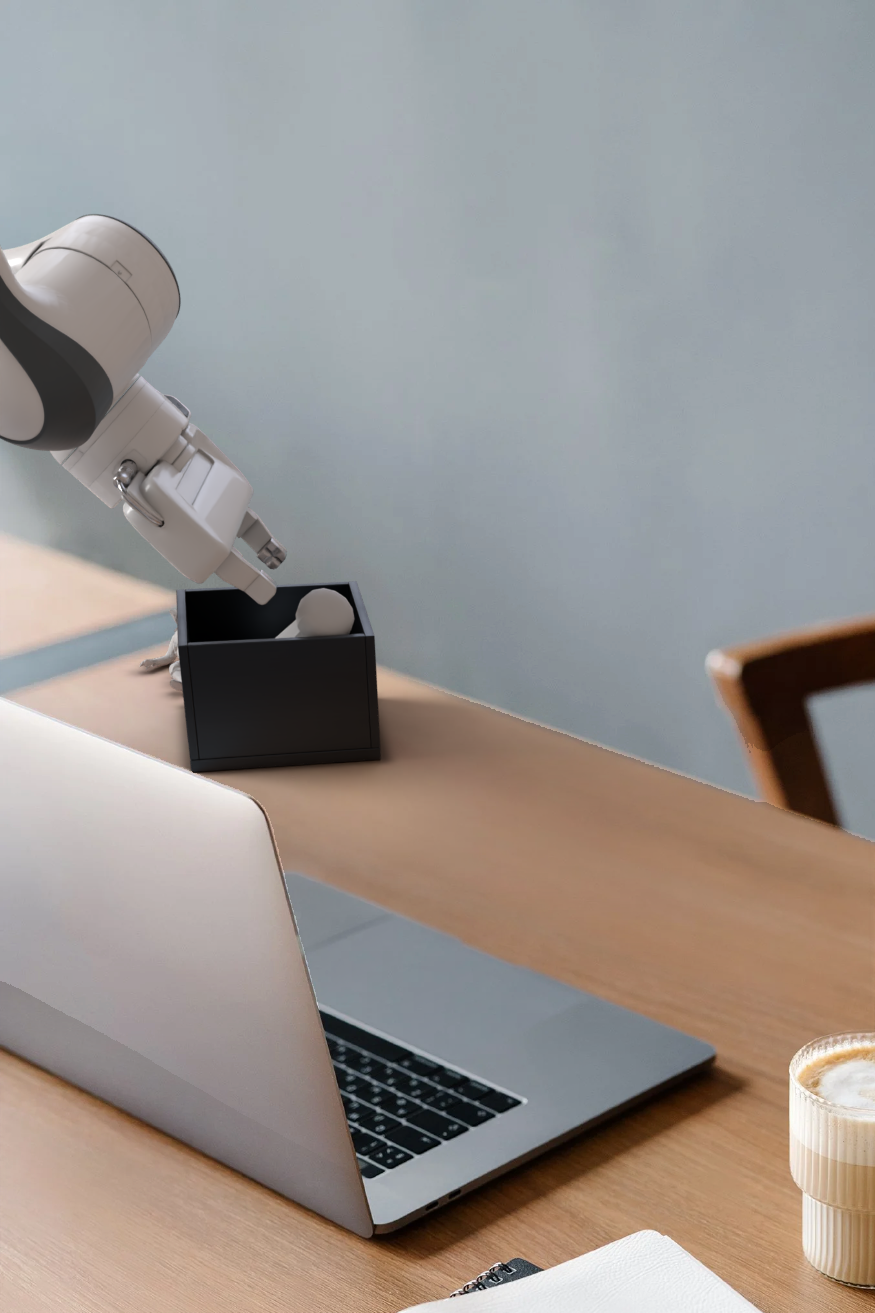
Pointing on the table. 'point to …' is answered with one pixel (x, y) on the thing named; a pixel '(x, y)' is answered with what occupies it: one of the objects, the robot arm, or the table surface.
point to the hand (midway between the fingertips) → (276, 578)
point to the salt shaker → (321, 615)
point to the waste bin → (274, 681)
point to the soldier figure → (169, 659)
